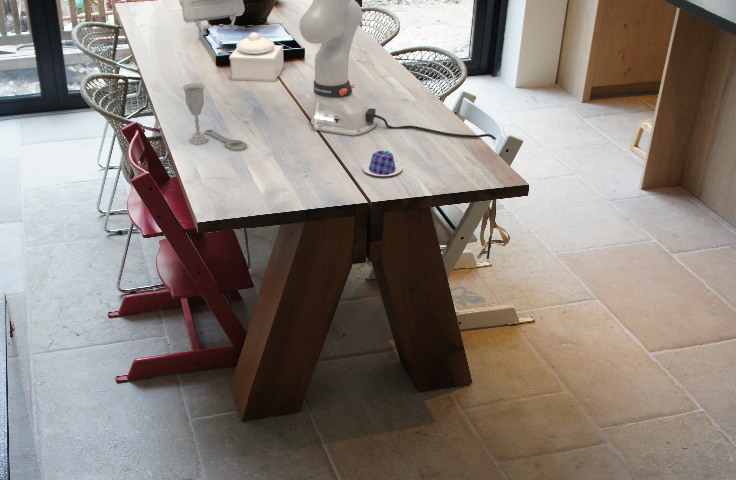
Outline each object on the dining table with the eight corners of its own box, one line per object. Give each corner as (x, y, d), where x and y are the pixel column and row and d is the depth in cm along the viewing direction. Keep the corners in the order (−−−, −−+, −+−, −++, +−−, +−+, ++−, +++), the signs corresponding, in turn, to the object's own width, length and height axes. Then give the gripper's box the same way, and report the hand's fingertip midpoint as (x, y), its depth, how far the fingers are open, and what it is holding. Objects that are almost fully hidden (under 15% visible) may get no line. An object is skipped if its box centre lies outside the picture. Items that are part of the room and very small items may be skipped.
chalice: (190, 136, 281) (184, 83, 271) (210, 136, 281) (205, 83, 271) (186, 145, 275) (181, 90, 265) (207, 145, 275) (202, 90, 265)
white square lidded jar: (283, 67, 341) (282, 26, 332) (274, 81, 327) (273, 39, 318) (241, 65, 344) (239, 25, 335) (230, 80, 329) (227, 38, 320)
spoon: (200, 133, 283) (200, 131, 283) (213, 129, 286) (213, 127, 285) (236, 151, 270) (235, 149, 269) (249, 147, 272) (249, 144, 272)
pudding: (410, 169, 256) (410, 152, 253) (386, 181, 249) (386, 165, 246) (378, 159, 263) (379, 143, 260) (354, 171, 255) (354, 155, 252)
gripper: (179, -10, 269) (188, 34, 270) (240, -19, 274) (249, 25, 276) (176, -4, 275) (185, 39, 277) (236, -12, 280) (245, 30, 282)
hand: (218, 32), depth 276 cm, fingers open, 8 cm apart
